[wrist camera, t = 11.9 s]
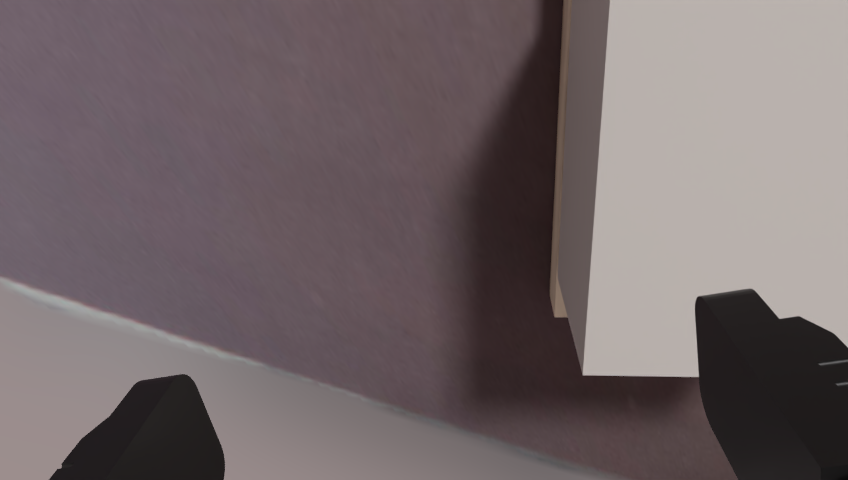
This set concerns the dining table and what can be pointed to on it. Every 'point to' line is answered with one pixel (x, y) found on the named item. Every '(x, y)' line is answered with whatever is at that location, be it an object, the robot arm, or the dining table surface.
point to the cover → (701, 172)
